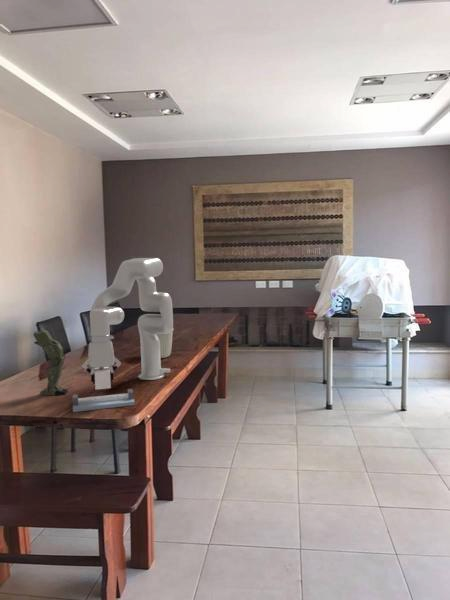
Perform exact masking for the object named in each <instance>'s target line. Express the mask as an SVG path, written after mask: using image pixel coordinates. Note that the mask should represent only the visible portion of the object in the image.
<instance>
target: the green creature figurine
mask: <svg viewBox="0 0 450 600" xmlns="http://www.w3.org/2000/svg"><path fill="white" fill-rule="evenodd" d="M32 336H33V337H34V339H35V341H34V342H33V343H34V344H36V345H37V346H38V347H41V349H43V350H44V352H45V354H46V355H47V357H48V358H49V363H50V365H49V366H48V367H47V368H46V369H45V370H46V378H47V381H48V382H47V386H46V387H45V388H43V389H42V390H41V391H40V396H66V394H67V393H68V392H69V390H68V389H67V388H64V387H62V386H60V385H59V380H60V378H61V374H62V371H63V370H62V369H63V366H64V362H65V358H66V357H65V355H64V347H63V346H62V343H60V342H59V341H57V340H55V339H53V337H52V335H51V333H49V331H48V330H45V329H42V330H41V331H39V332H38V331H35V332H34V333H33V335H32Z"/></svg>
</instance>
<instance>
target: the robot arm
mask: <svg viewBox="0 0 450 600" xmlns="http://www.w3.org/2000/svg"><path fill="white" fill-rule="evenodd" d="M163 271H164V264H163V261H162V260H161V259H160V258H159V257H137V258H136V257H135V258H131V259H126V260H124V261H122V262H121V264H120V265H119V267H118V270H117V272H116V273H115V274H116V275H115V277H114V280H113V281H112V284H111V285H110V286H108V287H107V288H106V289H104V290H103V291H102V292H100V293H99V294H98V295H97V297H96V298H95V299H94V301H93V304H92V306H91V308H90V312H89V319H90V320H89V323H90V325H89V326H90V342H89V343H88V354H87V355H88V357H87V359H86V360H85V362H84V363H83V364H82V365H81V368H82V369H84V370H85V371H86V372H87V373H89V374H90V379H91V380H90V381H91V383H92V385H95V374H94V371H95V368H99V367H109V369H110V380H111V384H112V382H113V381H114V373H115V372H116V370H117V369H118V368H119V367H120V365H122V362H121V361H120V360H119V359H118V358H116V357H115V352H114V345H113V344H114V343H113V341H112V340H114V339H115V337H114V335H111V334H110V332H111V329H110V326H112V325H119V324H121V323H122V322H123V321H124V319H125V312H124V310H123V309H122V308H121V307H118V306H109V305H110V304H111V303H113V302H115V301H117V300H121V299H123V298H125V297H126V296H129V294H131V291H132V289H133V286H134V283H135V282H137V285H138V299H139V307H140V309H141V311H143V312H150V313H144V314H142V315H140V316H139V317H138V319H137V328H138V333H139V338H140V341H139V342H140V358H141V360H140V362H141V364H140V365H141V373H140V374H138V378H139V380H143V381H156V380H160V379H163V378H164V377H165V373H171V368H166V367H165V368H162V365H161V364H162V363H161V360H162V358H160V341H159V338H158V337H157V335H156V334H169V333H170V332H171V331H172V329H174V312H173V310H174V309H173V300H172V297H171V295H170V294H169V293H167V292H161V291H160V292H159V291H157V285H156V283H157V282H156V279H155V277H159V276H161V274H162V273H163ZM151 312H152V313H151ZM153 312H154V313H153ZM157 312H158V314H157ZM159 313H160V314H159Z"/></svg>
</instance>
